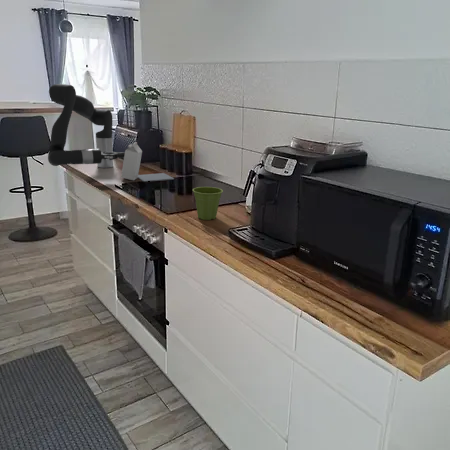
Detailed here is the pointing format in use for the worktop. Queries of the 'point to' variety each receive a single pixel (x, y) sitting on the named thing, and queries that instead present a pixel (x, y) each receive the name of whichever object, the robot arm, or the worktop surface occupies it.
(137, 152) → the milk carton
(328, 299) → the worktop surface
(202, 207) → the plant pot
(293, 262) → the worktop surface
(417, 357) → the worktop surface
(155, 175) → the mat
